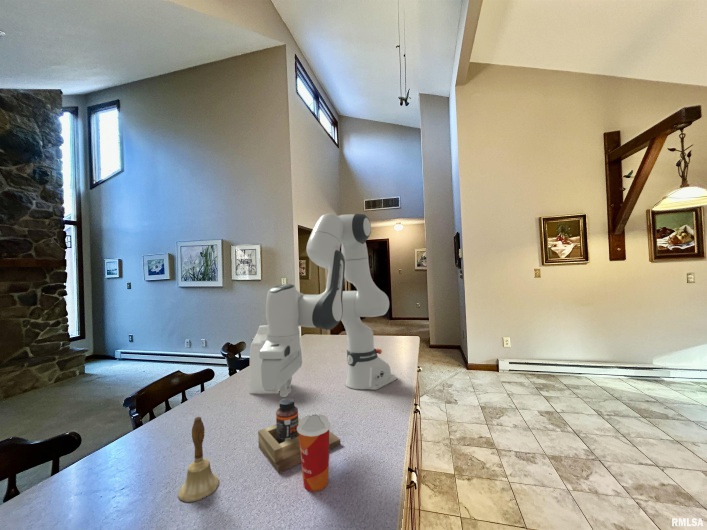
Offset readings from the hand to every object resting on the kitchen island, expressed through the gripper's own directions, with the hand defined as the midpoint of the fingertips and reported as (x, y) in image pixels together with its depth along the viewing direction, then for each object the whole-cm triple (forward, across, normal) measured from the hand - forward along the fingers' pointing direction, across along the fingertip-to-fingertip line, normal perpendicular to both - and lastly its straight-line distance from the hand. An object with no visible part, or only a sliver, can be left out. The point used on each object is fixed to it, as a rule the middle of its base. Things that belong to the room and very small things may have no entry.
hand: (285, 394), depth 82 cm
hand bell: (+15, +16, -15) cm, 27 cm away
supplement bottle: (+13, 0, 0) cm, 13 cm away
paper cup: (+15, +12, +12) cm, 22 cm away
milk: (+15, -41, -24) cm, 50 cm away
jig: (+15, -2, +3) cm, 15 cm away
